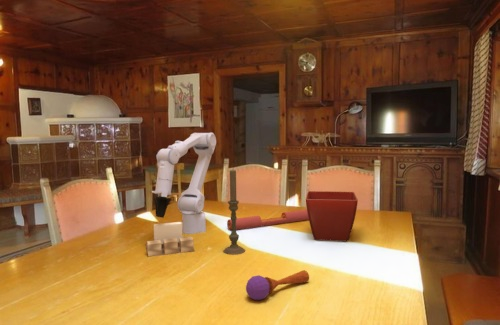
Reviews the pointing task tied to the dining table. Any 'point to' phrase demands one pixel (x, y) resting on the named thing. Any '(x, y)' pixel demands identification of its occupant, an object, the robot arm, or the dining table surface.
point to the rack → (163, 250)
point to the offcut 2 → (186, 244)
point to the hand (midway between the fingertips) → (159, 217)
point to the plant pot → (331, 214)
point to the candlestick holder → (233, 218)
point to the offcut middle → (170, 246)
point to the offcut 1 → (154, 247)
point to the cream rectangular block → (168, 231)
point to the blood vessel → (268, 220)
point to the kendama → (271, 284)
